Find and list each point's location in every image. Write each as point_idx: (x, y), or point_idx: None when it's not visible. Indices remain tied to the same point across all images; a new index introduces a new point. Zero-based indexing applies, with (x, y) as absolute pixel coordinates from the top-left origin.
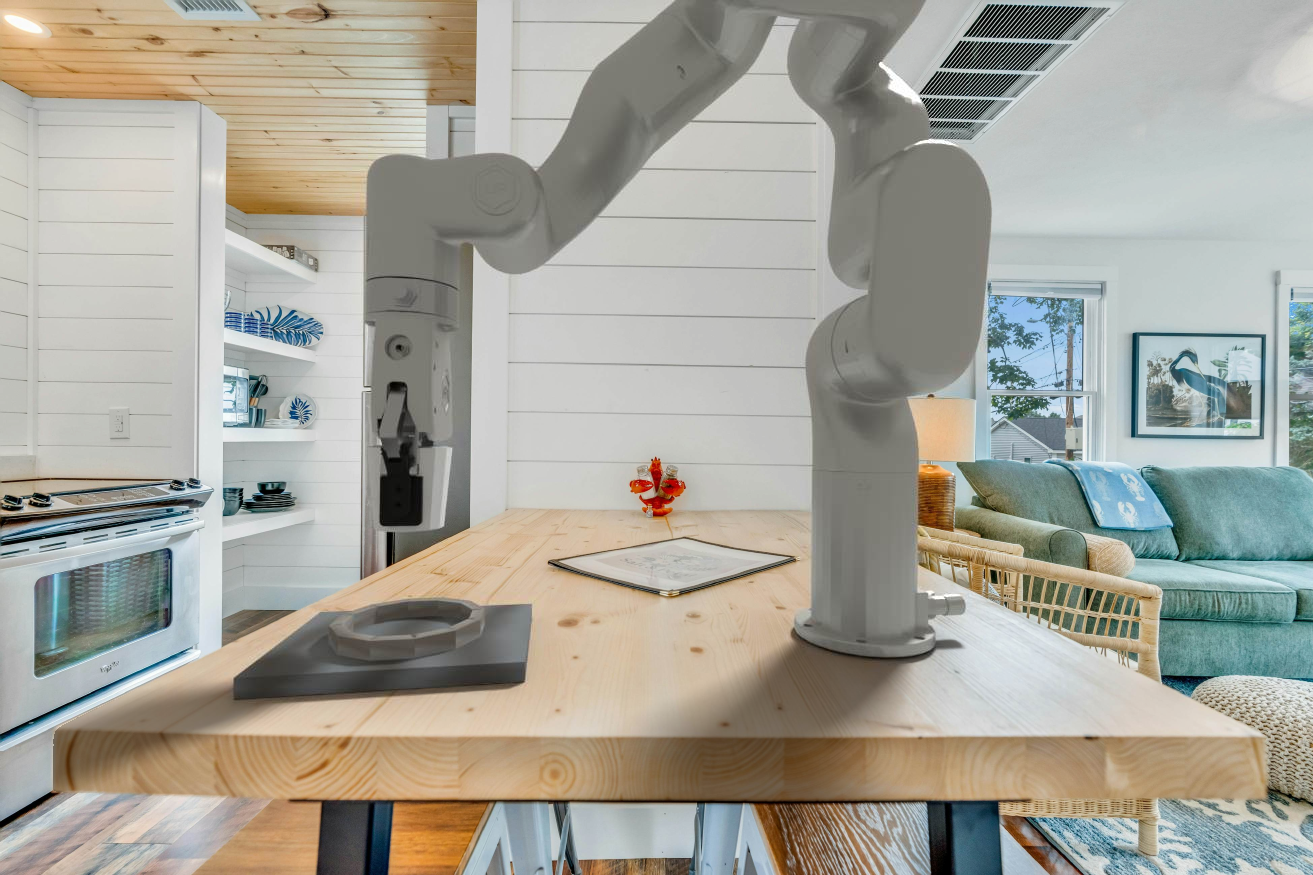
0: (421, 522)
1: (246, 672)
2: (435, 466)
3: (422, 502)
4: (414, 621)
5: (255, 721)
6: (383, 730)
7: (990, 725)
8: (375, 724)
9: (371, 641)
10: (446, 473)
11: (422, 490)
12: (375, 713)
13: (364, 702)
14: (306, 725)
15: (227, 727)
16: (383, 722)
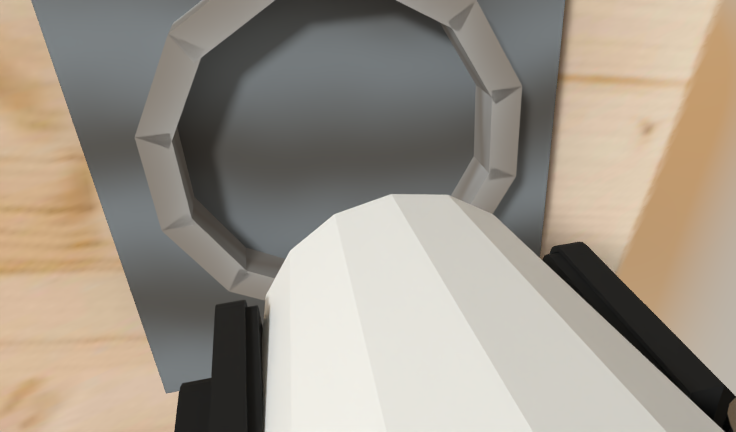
0: (572, 243)
1: None
2: (689, 404)
3: (615, 293)
4: (231, 167)
5: (600, 234)
6: (691, 37)
7: None
8: (666, 59)
9: (514, 172)
10: (549, 344)
11: (651, 333)
12: (626, 75)
13: (577, 112)
14: (635, 162)
15: (608, 257)
16: (663, 48)
